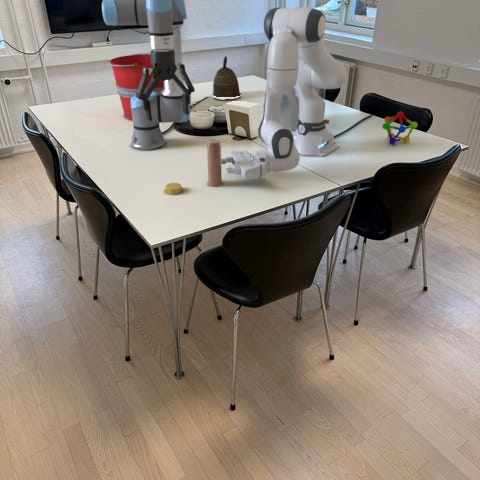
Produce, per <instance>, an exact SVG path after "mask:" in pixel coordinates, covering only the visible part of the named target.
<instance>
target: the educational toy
mask: <svg viewBox="0 0 480 480" xmlns="http://www.w3.org/2000/svg"><path fill="white" fill-rule="evenodd" d="M397 119H399V124H400V125H399V127H398V126H393V125H391V124H392V123H394V122H395V121H396V120H397ZM403 120H404V121H405V122H407V123H408V124H409V125H407V126H404V123H403ZM417 127H418V122H417V121H411V120H410V119H409V118H408V117H406V116H405V113H404V112H403V111H401V110H400V111H398V112H397V114H396V115H394V116H391V117H390V116H386V117H385V118H384V122H383V123H382V129H383V130H386V132H387V138H388V142H389V145H395V144H396V143H397V142H402V141H403V142H404V143H409V142H410V140H411V138H410V136H411V134H412V132H413V131H414V130H415V129H417ZM392 129H393V130H397V131H398V132H396V134H395V133H394V132H392ZM408 129H409V131H408V133H407V134H406V135H404V136H401V134H403V133H405V132H406V130H408ZM399 135H400V136H399Z"/></svg>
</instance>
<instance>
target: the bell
mask: <svg viewBox="0 0 480 480" xmlns="http://www.w3.org/2000/svg"><path fill="white" fill-rule="evenodd" d="M227 63H228V57H227V56H224V58H223V63H222V67H221V68H219V69H218V70H217V71H216V73H215V75H214V78H213V81H212V83H213V84H212V95H214V96H216V97H236V96H240V95H241V96H242V93H241V92H240V83H239V80H238V79H239V78H238V77H237V75H236V73H235V72H234V70H232V69H231V68H230V67H227Z"/></svg>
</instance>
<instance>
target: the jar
mask: <svg viewBox="0 0 480 480" xmlns="http://www.w3.org/2000/svg"><path fill="white" fill-rule="evenodd" d="M206 151H207V152H206V153H207V180H208V181H207V182H208V183H207V184H208V185H209V186H211V187H220V186H222V185H223V183H222V182H223V180H222V179H223V178H222V177H223V176H222V173H223V172H222V163H221V159H222V145H221V141H220V140H219V139H217V138H216V139H208V141H207V146H206Z"/></svg>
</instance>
